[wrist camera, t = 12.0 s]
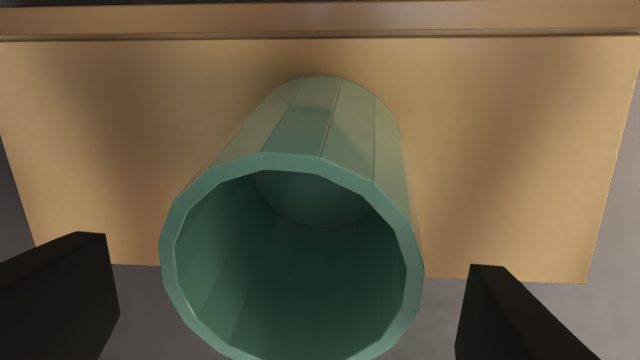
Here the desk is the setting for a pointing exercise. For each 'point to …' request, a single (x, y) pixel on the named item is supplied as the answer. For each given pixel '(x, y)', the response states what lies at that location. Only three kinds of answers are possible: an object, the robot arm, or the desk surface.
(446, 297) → the desk surface
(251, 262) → the tub
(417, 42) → the wooden block
